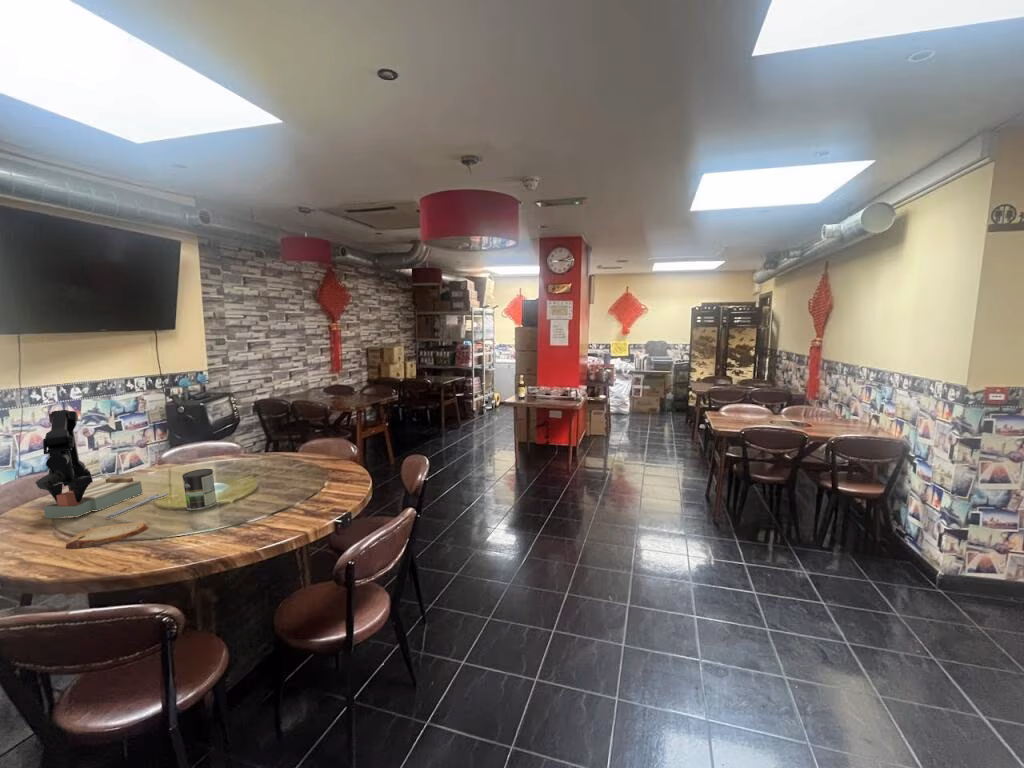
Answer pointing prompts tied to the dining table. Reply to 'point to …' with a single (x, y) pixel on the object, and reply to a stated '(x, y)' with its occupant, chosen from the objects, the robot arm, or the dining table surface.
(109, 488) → the slatted box lid
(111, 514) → the adjustable wrench
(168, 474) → the dining table surface
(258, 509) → the dining table surface
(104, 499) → the grey-green open box
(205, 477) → the coffee can
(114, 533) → the bread slice
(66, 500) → the red rectangular block
